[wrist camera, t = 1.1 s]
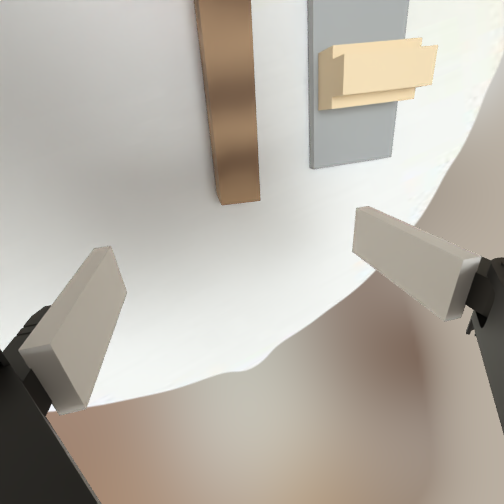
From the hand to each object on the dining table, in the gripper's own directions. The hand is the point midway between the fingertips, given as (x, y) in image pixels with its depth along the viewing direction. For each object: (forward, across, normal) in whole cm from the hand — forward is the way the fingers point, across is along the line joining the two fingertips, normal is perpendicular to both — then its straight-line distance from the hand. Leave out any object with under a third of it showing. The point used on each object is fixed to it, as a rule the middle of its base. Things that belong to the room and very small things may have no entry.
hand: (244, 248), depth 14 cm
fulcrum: (+18, +16, +9) cm, 26 cm away
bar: (+18, +2, +9) cm, 21 cm away
